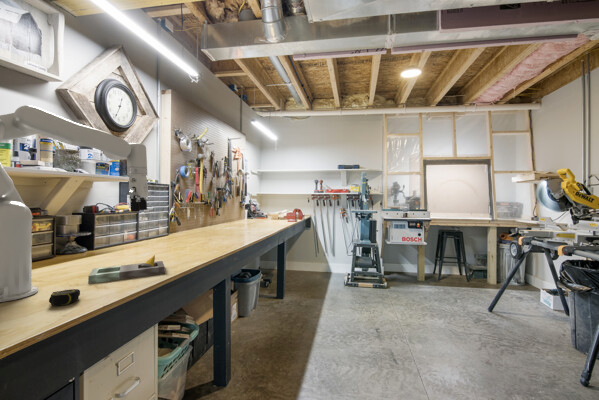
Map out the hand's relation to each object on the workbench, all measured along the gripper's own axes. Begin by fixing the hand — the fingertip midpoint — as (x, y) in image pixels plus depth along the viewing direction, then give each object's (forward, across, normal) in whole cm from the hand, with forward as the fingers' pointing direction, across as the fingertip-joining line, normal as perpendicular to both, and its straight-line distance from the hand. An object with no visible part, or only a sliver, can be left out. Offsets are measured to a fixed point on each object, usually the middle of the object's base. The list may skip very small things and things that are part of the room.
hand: (139, 210), depth 117 cm
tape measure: (+26, -33, +12) cm, 44 cm away
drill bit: (+28, -2, -3) cm, 28 cm away
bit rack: (+27, -4, +4) cm, 28 cm away
